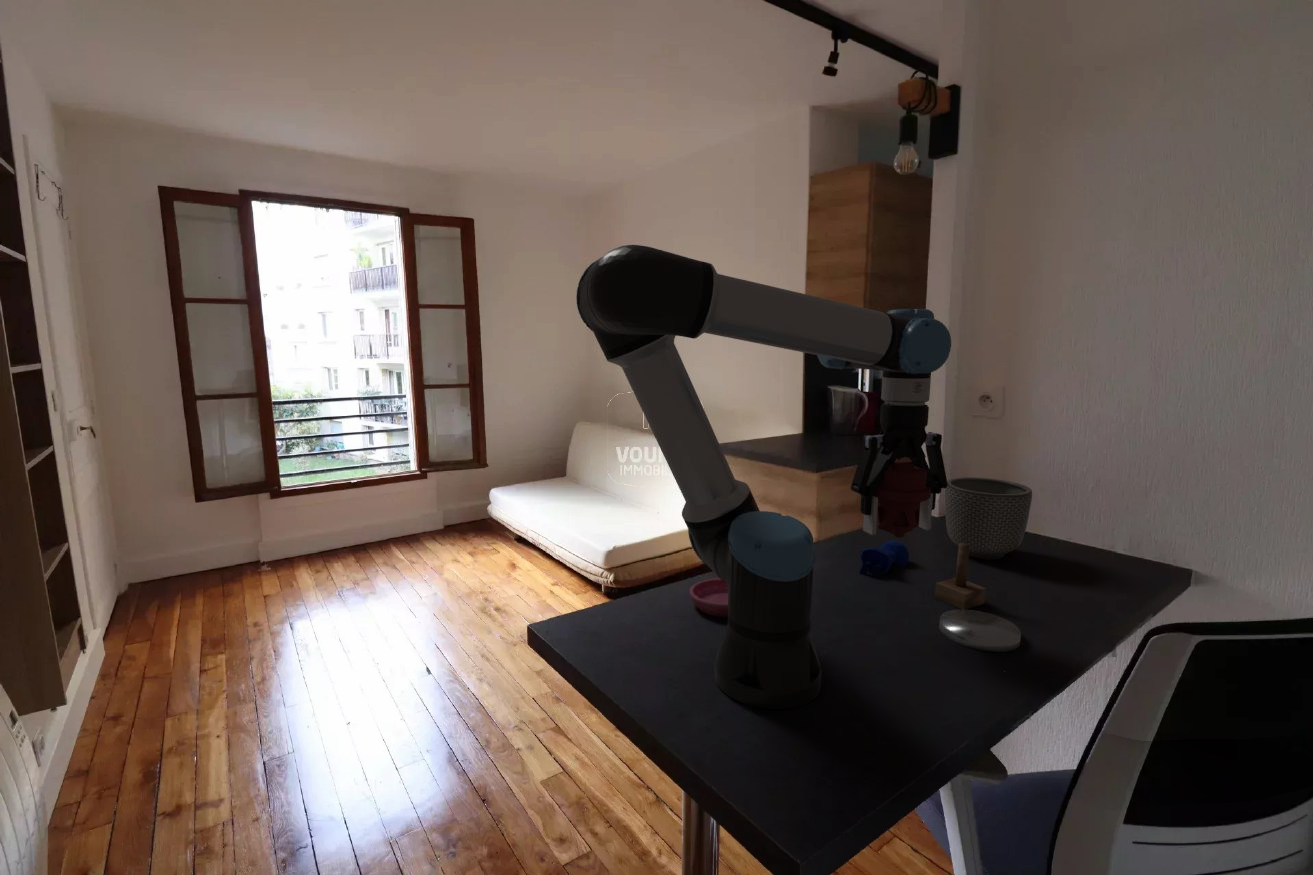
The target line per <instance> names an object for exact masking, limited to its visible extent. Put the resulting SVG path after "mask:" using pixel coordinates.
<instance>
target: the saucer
mask: <svg viewBox="0 0 1313 875" xmlns="http://www.w3.org/2000/svg"><path fill="white" fill-rule="evenodd" d="M689 598H690V599H691V601H692V603H693V604H694V605H695V606H697V608H698V609H699V610H700V611H701V612H702V613H705V614H707V615H710V616H714V617H722V618H728V586H727V585H726V584H725V583H724V582H723V581H722V580H721V579H720V578H719V577H717V578H708V579H705V580H701V581H698V582H696V583H694V584H693V585H692V586H691V587H690V589H689Z"/></svg>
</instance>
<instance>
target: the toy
mask: <svg viewBox="0 0 1313 875" xmlns="http://www.w3.org/2000/svg"><path fill="white" fill-rule="evenodd" d="M909 558H910V553H909V550H908V548H907V547H906V546H905V544H903V543H902V542H899V541H896V540H887V541H886V542H885V543H883V544H882V545H881V546H880V547H877V548H876V547H868V548H864V549H862V552H861V554H860V560H861V563H862V566H861V569H860V571H859V574H860V575H863V576H866V575H867V574H868V572H873V575H874V578H875V579H877V580H881V579H882V574H886V573H888V571H889V570H890V567H891V566H892V565H894V566H896V567H903V566H907V564H908V562H909Z"/></svg>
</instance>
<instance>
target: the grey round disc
mask: <svg viewBox="0 0 1313 875" xmlns="http://www.w3.org/2000/svg"><path fill="white" fill-rule="evenodd" d="M938 626H939V627H938V628H939V631H940V632H941V633H942V635H944V636H945V637H946V638H948V639H949V640H951V641H953V642H955V643H957V644H958V645H962V646H964V647H968V648H971V649H974V650H979V651H985V652H995V653H1001V652H1002V653H1003V652H1010V651H1014V650H1016V649H1018V648H1019V647H1020V646H1021V639H1022V638H1021V637H1022V632H1021V629H1020V628H1019V627H1018V626H1017V625H1016V624H1015V623H1013V622H1011V621H1010V620H1007V619H1006V618H1003V617H1001V616H999V615H996V614H993V613H989V612H985V611H980V610H974V609H965V610H963V609H952V610H947V611H945V612H943V613H941V615H940V616H939V625H938Z"/></svg>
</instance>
